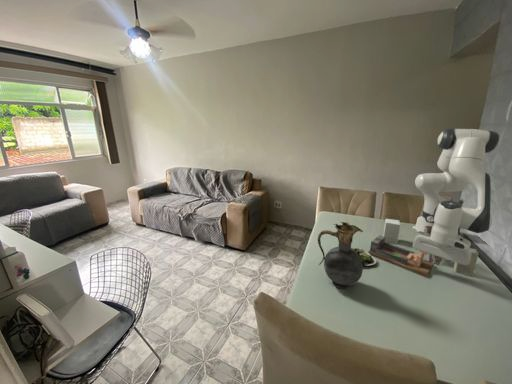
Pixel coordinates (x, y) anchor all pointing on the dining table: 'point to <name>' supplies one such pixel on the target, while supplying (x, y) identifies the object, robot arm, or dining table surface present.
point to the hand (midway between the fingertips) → (436, 264)
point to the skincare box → (469, 268)
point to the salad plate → (365, 258)
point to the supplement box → (391, 230)
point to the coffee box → (426, 255)
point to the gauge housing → (397, 256)
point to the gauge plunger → (415, 259)
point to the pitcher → (342, 257)
